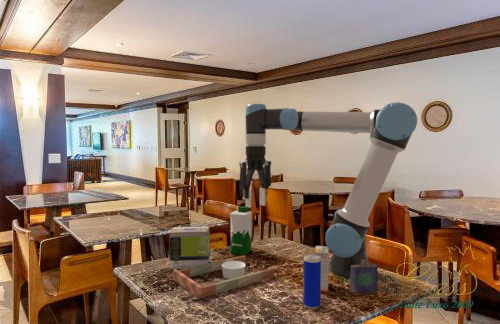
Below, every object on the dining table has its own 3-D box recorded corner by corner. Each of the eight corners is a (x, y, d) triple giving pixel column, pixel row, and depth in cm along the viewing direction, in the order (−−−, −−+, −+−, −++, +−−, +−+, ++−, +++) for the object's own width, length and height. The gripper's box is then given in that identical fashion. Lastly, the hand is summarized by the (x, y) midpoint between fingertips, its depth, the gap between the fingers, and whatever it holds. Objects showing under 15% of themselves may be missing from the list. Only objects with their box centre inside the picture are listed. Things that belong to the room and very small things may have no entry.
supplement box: (328, 292, 119) (329, 253, 118) (313, 291, 120) (314, 252, 119) (328, 282, 127) (328, 245, 126) (314, 281, 128) (314, 245, 127)
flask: (351, 294, 117) (351, 261, 117) (347, 290, 120) (348, 258, 120) (378, 293, 118) (379, 260, 118) (374, 289, 121) (375, 258, 121)
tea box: (210, 260, 150) (210, 225, 149) (208, 269, 140) (208, 231, 139) (173, 261, 150) (173, 225, 149) (169, 269, 140) (168, 231, 139)
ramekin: (222, 272, 137) (221, 260, 137) (245, 271, 138) (245, 260, 138) (221, 281, 128) (221, 269, 128) (246, 280, 129) (246, 268, 129)
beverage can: (307, 300, 113) (308, 252, 112) (323, 304, 110) (323, 255, 109) (300, 306, 108) (300, 257, 108) (316, 311, 105) (316, 260, 105)
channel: (274, 276, 132) (274, 267, 132) (198, 298, 114) (198, 287, 114) (244, 262, 148) (244, 253, 147) (173, 279, 129) (173, 269, 129)
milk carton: (253, 250, 164) (253, 206, 163) (245, 256, 156) (245, 210, 155) (236, 248, 168) (236, 205, 167) (227, 253, 159) (227, 208, 158)
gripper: (268, 145, 145) (268, 202, 146) (229, 145, 134) (229, 207, 135) (281, 145, 139) (280, 204, 140) (240, 145, 128) (240, 210, 129)
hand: (255, 205), depth 138 cm, fingers open, 6 cm apart
